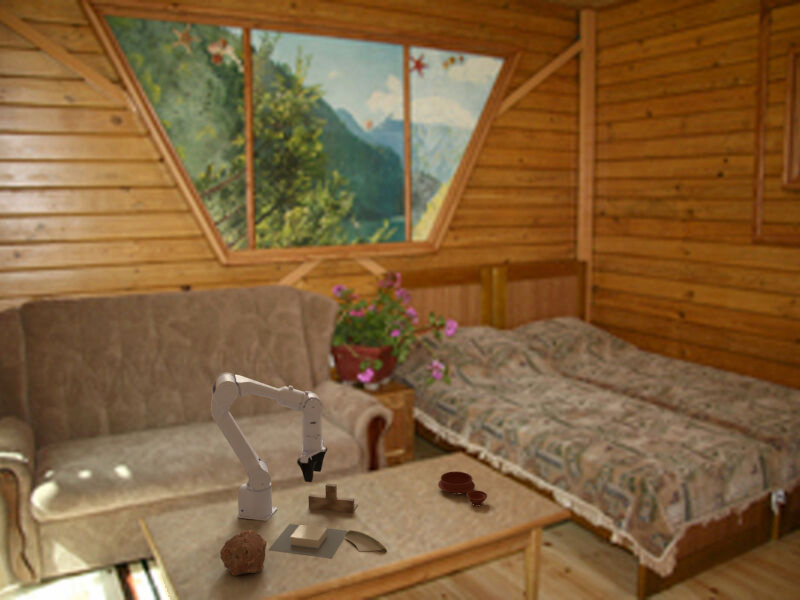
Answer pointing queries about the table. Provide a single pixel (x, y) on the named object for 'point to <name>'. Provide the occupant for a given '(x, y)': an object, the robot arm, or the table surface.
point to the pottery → (461, 486)
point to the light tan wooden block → (309, 536)
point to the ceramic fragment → (363, 541)
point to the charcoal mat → (324, 550)
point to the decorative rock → (244, 553)
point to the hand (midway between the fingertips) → (313, 476)
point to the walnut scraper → (332, 501)
